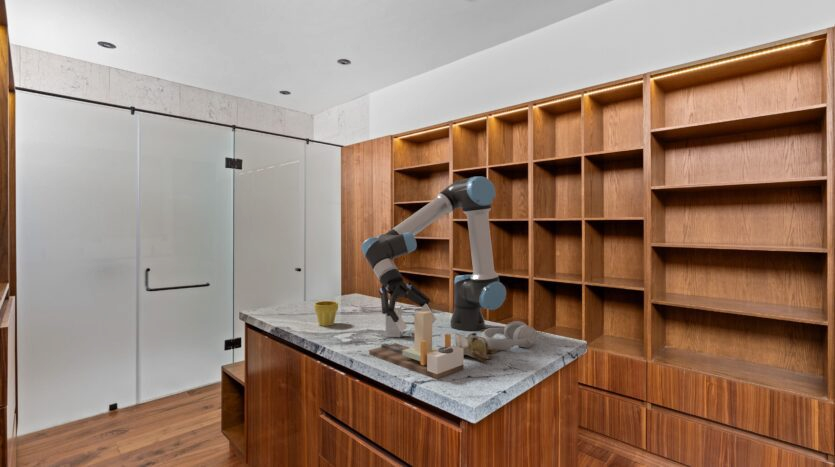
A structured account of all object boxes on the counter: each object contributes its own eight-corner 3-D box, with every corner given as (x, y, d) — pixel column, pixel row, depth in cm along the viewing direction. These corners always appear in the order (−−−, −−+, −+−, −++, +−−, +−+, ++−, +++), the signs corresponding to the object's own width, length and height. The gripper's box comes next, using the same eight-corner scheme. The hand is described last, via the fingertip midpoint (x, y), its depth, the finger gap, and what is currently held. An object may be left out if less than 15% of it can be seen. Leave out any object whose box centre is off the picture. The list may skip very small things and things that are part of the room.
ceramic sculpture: (462, 325, 145) (502, 333, 137) (461, 349, 145) (501, 359, 137) (449, 332, 135) (491, 341, 128) (447, 357, 136) (489, 368, 128)
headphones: (523, 335, 163) (476, 344, 159) (520, 316, 163) (473, 325, 159) (545, 348, 145) (494, 359, 141) (543, 327, 145) (491, 337, 141)
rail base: (369, 354, 139) (369, 347, 139) (395, 347, 148) (395, 340, 148) (437, 379, 117) (437, 370, 117) (463, 369, 125) (463, 361, 125)
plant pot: (335, 327, 177) (335, 305, 177) (311, 327, 177) (311, 305, 177) (340, 321, 187) (340, 300, 187) (318, 321, 188) (317, 300, 187)
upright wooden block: (402, 358, 129) (402, 311, 129) (422, 352, 136) (422, 307, 136) (424, 365, 122) (424, 316, 122) (444, 359, 129) (444, 312, 128)
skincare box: (401, 334, 165) (401, 305, 165) (400, 337, 161) (400, 307, 161) (387, 334, 166) (387, 305, 166) (385, 337, 161) (385, 307, 161)
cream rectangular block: (426, 370, 120) (426, 351, 119) (453, 361, 128) (453, 343, 128) (437, 374, 116) (437, 354, 116) (463, 364, 125) (463, 346, 125)
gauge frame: (420, 364, 121) (420, 341, 121) (447, 355, 130) (447, 333, 130) (423, 365, 120) (423, 342, 120) (450, 356, 129) (450, 334, 129)
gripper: (409, 278, 151) (439, 325, 141) (354, 285, 133) (384, 339, 123) (419, 265, 147) (450, 312, 137) (364, 271, 129) (396, 325, 119)
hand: (419, 325), depth 130 cm, fingers open, 13 cm apart
